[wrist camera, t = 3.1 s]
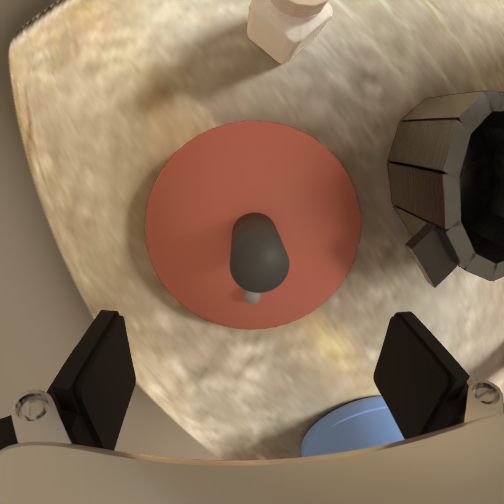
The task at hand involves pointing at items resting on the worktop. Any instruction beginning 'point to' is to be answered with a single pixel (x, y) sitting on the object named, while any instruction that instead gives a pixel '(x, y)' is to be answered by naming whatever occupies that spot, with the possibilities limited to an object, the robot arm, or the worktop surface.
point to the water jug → (352, 428)
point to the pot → (452, 184)
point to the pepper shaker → (286, 25)
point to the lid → (252, 225)
